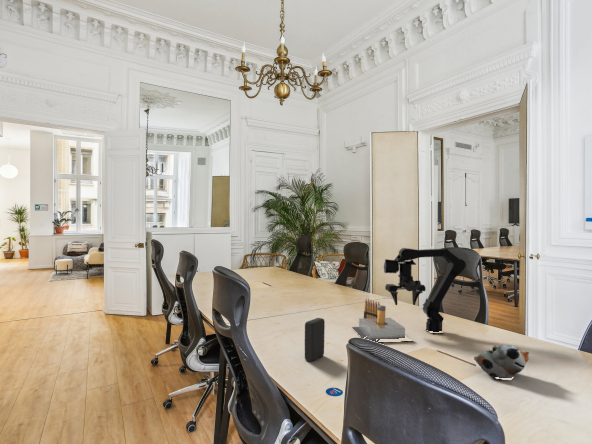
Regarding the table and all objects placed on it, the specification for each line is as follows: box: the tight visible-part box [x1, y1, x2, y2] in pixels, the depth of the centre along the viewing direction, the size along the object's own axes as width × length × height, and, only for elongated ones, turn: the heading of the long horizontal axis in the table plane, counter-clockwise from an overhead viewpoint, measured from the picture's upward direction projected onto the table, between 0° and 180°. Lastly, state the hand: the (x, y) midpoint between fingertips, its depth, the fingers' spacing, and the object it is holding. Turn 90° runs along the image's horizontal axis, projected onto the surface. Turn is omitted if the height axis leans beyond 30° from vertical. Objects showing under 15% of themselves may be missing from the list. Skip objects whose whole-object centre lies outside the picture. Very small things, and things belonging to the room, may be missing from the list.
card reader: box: [304, 317, 326, 362], centre depth 133 cm, size 9×4×15 cm, turn 141°
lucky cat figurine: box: [473, 344, 530, 378], centre depth 120 cm, size 15×12×14 cm
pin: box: [377, 304, 387, 325], centre depth 162 cm, size 4×4×13 cm
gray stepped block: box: [351, 317, 406, 344], centre depth 162 cm, size 22×22×6 cm
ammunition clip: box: [363, 298, 381, 318], centre depth 182 cm, size 11×2×12 cm, turn 35°
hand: (405, 304), depth 168 cm, fingers open, 9 cm apart
